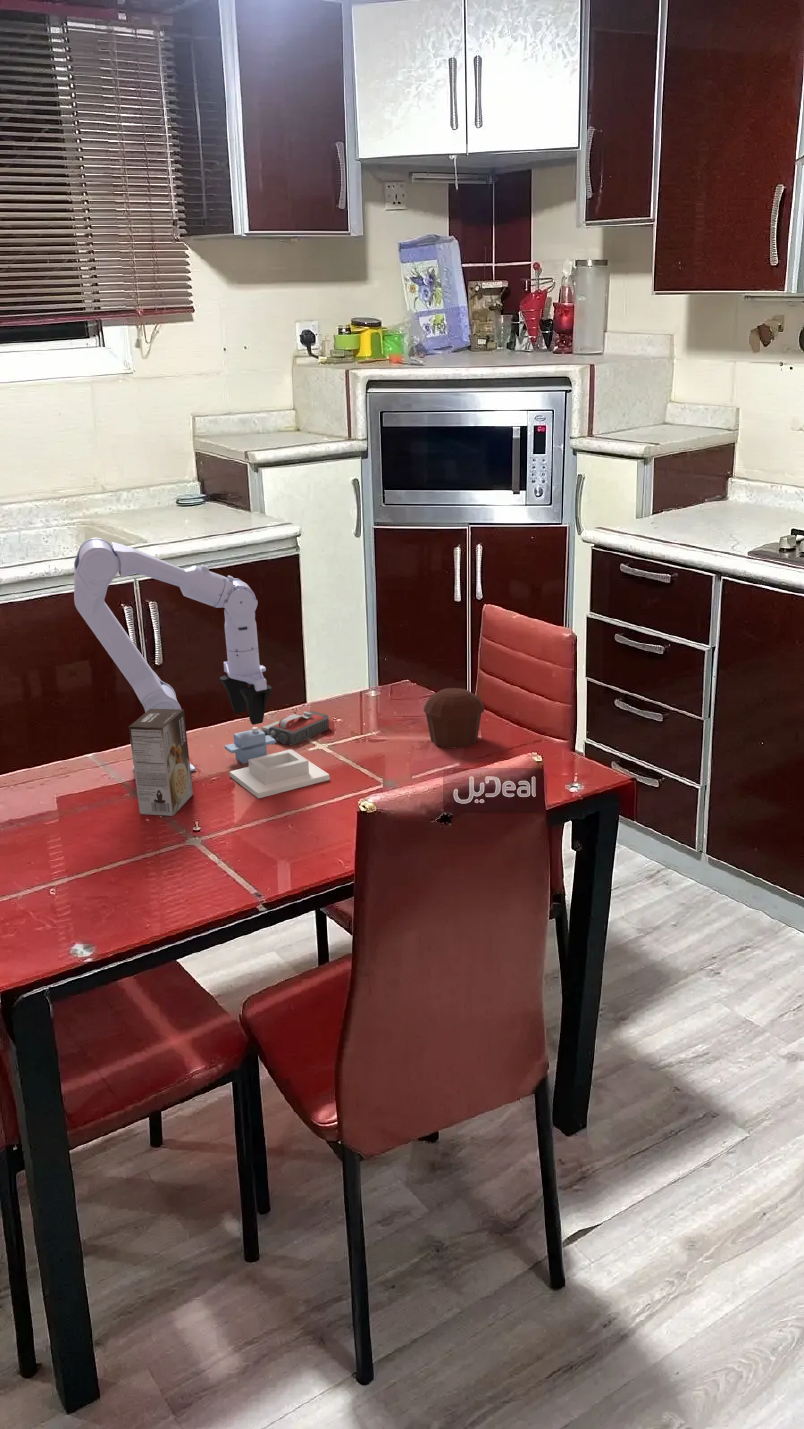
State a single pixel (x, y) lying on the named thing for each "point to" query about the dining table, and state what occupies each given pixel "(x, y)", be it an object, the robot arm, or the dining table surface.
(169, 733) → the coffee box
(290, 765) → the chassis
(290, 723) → the walkie-talkie
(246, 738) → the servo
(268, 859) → the dining table surface
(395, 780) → the dining table surface
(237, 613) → the robot arm
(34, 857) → the dining table surface
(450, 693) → the muffin
